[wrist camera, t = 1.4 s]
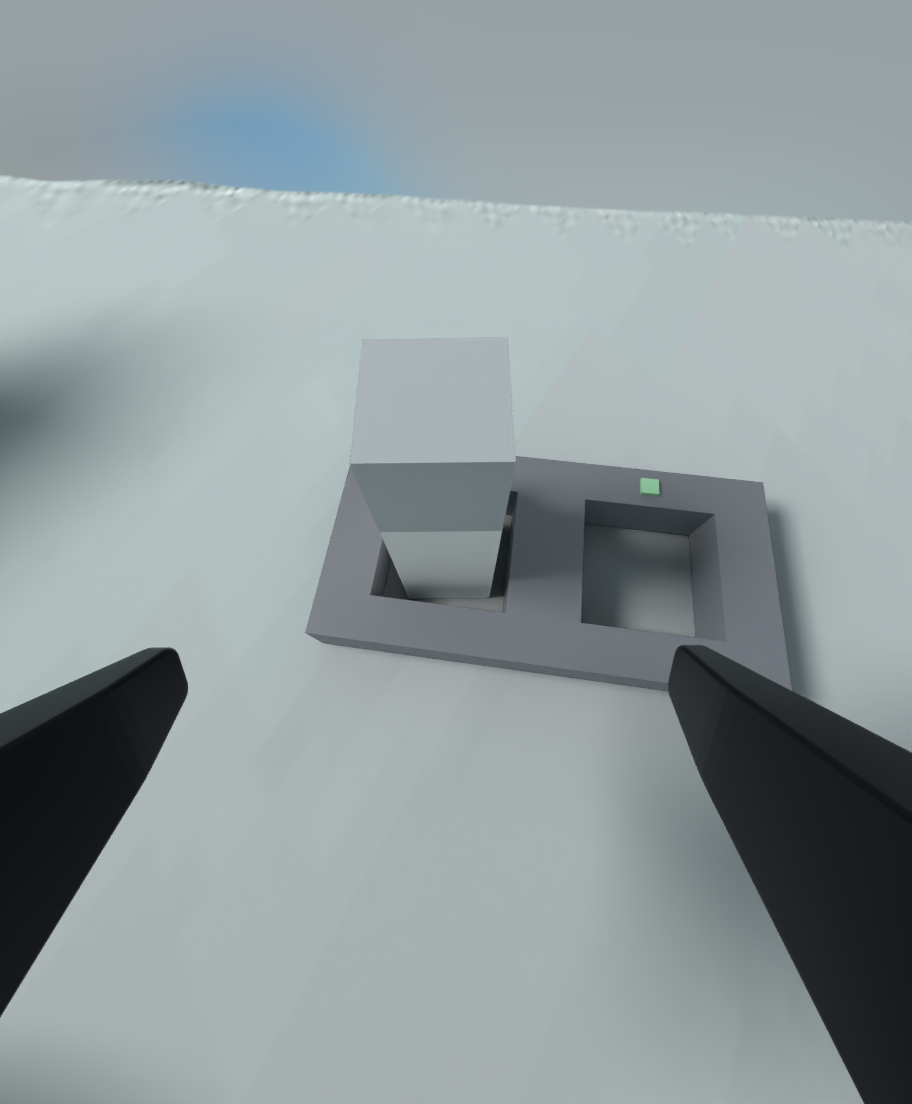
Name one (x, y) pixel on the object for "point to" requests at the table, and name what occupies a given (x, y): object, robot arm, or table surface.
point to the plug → (436, 457)
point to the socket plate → (571, 579)
